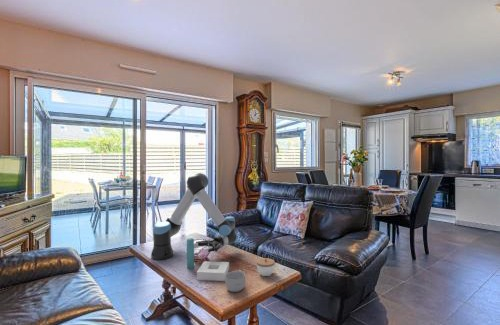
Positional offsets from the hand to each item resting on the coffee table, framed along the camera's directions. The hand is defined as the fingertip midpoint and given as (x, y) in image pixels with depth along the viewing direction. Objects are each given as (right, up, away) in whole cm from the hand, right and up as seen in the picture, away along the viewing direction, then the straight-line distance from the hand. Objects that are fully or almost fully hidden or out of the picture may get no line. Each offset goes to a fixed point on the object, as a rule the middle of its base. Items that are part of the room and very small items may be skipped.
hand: (196, 249), depth 175 cm
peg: (-3, -11, -3) cm, 11 cm away
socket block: (+13, -11, -13) cm, 21 cm away
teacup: (+27, -11, -31) cm, 42 cm away
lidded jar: (+44, -10, -14) cm, 47 cm away
